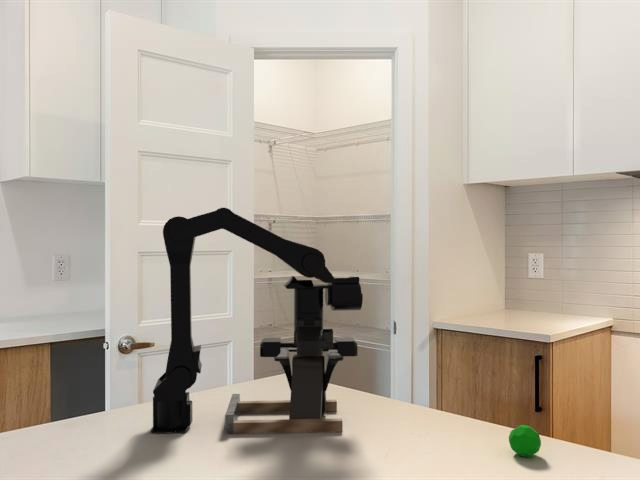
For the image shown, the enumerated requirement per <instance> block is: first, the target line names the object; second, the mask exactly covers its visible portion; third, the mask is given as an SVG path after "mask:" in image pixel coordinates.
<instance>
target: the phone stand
mask: <svg viewBox="0 0 640 480" xmlns="http://www.w3.org/2000/svg"><path fill="white" fill-rule="evenodd" d="M291 362H292V363H291V371H292V384H291V390H290V399H289V400H290V412H289V414H288V415H289V418H288V419H324V417H325V414H326V412H327V411H326V409H327V408H326V400H327V396H326V395H327V390H326V391H324V377H325V365H326V358H325V355H322V356H319V357H315V356H305V357H300V356H298V355H297V354H293V356H292V361H291Z"/></svg>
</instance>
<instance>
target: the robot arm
mask: <svg viewBox="0 0 640 480" xmlns="http://www.w3.org/2000/svg"><path fill="white" fill-rule="evenodd" d="M219 230H225V231H227V232H229V233H230V234H233V235H235V236H237V237H238V238H240V239H241V240H242V239H243V240H245V241H246V242H249V243H250V244H252V245H255V246H257V247H259V248H261V249H262V250H264V251H266V252H268V253H270V254H272V255H274V256H276V257H277V259H279V260H281V261H282V262H283V263H284V264H286V265H287V266H289V267H290V269H292V270H294V271H295V272H296V273H298V274H299V275H301V276H304V277H305V278H312V279H313V278H315V279H317V280H318V281H319V282H322V283H323V284H314V283H313V280H312V279H297V277H296V276H294V275H292V276H290V279H289V280H288V281H287V282H286V283H284V285H283V287H284V288H285V289H286V290H293V313H294V314H293V341H290V342H289V341H285V342H284V341H282V337H263V338H262V339H261V341H260V346H259V357H260V358H273V361H274V362H279V364H280V365H281V367H282V369H283V371H284V373H285V377H286V380H287V384H288V386H289V390H290V391H291V384H292V363H291V357H290V353H292V352H293V353H296V355H298V356H300V357H305V356H315V357H319V356H324V355H323V354H324V352H325V353H326V355H325V356H326V358H325V377H324V391H326V392H327V390H328V386H329V384H330V380H331V377H332V375H333V371H334V369H335V367H336V365H337V364H338V363H339V361H340V362H342V361H344V357H357V356H358V343H357V341H356V340H355V339H354V337H351V336H349V337H348V336H347V337H346V336H342V337H339V336H338V337H334V330H333V328H324V302H325V306H328V307H330V310H331V311H332V312H334V311H335V312H336V311H337V312H339V311H341V312H342V311H344V312H346V311H347V312H348V311H349V312H350V311H361V310H362V307H363V300H364V299H363V298H364V297H363V293H362V287H361V283H360V277H359V276H357V275H351V276H334V275H333V273H331V272H330V269H328V268H327V266H326V259H325V255H324V253H323V252H322V251H320V250H319V249H318V248H314V247H311V246H308V245H306V244H303V243H298V242H295V241H292V240H288V239H285V238H283V237H281V236H280V235H277V234H276V233H274V232H272V231H270V230H268V229H266V228H264V227H262V226H259V225H258V224H257V223H254V222H252V221H250V220H248V219H246V218H245V217H243V216H241V215H238V214H237V213H234V212H233V211H232V210H231V209H229V208H228V207H220V208H218V209H216V210H214V211H213V210H212V211H211V212H207V213H204V214H199V215H196V216H192V217H189V218H186V217H184V216H174V217H171V218H169V219H168V221H166V222H165V224H164V225H163V228H162V237H163V240H164V247H165V251H166V254H167V258H168V262H169V267H170V268H169V269H170V271H169V272H170V273H169V274H170V275H169V277H170V278H169V279H170V327H171V328H170V329H171V330H170V332H171V333H170V335H171V337H170V338H171V339H170V343H169V345H170V346H169V350H168V355H167V357H168V358H167V360H166V365H165V366H166V367H165V372H164V373H163V374H162V375H161V376H160V377H159V378H158V379H157V381H156V383H155V386H154V388H153V390H152V393H153V397H152V427H151V428H150V433H151V434H158V433H159V434H161V433H162V434H166V433H167V434H168V433H170V434H171V433H186V432H187V431H188V430H189V427H190V426H191V425H192V423H193V401H192V400H190V391H188V392H187V390H189V389H190V388H192V386H193V385H195V383H196V381H197V378H198V377H197V376H198V374H201V372H202V366H203V364H202V362H201V356H200V355H201V349H202V345H200V344H198V345H196V346H195V343H194V340H193V337H192V335H193V334H192V332H193V331H192V287H191V286H192V281H191V280H192V275H191V274H192V273H191V272H192V271H191V265H192V260H193V254H194V249H195V243H196V238H197V237H200V236H204V235H206V234H211V233H213V232H217V231H219ZM324 283H325V284H324ZM334 338H335V339H334Z"/></svg>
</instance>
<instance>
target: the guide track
mask: <svg viewBox="0 0 640 480" xmlns="http://www.w3.org/2000/svg"><path fill="white" fill-rule="evenodd" d="M326 408H327V409H326V412H337V411H338V401H337V399H326ZM252 413H253V414H257V413H258V414H259V413H261V414H262V413H263V414H264V413H290V399H289V400H285V399H283V400H281V399H280V400H279V399H277V400H276V399H275V400H240V402H239V414H252ZM230 424H231V423H229V424H228V426H229V427H228V429H229V428H230V427H231V426H232V427H231V428H233V426H234V429H232V430H230V431H228V432H229V433H231V432H232V431H233V430H234V434H233V433H232V434H231V435H235V434H236V435H238V434H239V435H242V434H248V435H249V434H252V435H253V434H290V433H291V434H293V433H295V434H297V433H299V434H300V433H302V434H303V433H342V432H343V418H323V419H289V418H288V419H287V418H286V419H282V418H281V419H241V420H240V419H239V420H238V419H237V420H234V425H230ZM232 424H233V423H232ZM229 433H228V434H227V435H230V434H229Z"/></svg>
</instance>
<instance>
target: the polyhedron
mask: <svg viewBox="0 0 640 480" xmlns="http://www.w3.org/2000/svg"><path fill="white" fill-rule="evenodd" d="M508 442H509V446H510V448H511V451H513V452H514V453H516V454H517V455H518V456H519V457H522V456H523V457H522V458H530V457H532V456H533V455H535V454H537V453H538V452H539V451H540V449H541V446H542V440H541V437H540V434H539V433H538V432H537V431H536V430H535V429H534V428H533V427H532V426H529V425H526V424H520V425H518V426H516V427H515V428H512V429H511V430H510V433H509V435H508Z"/></svg>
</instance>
